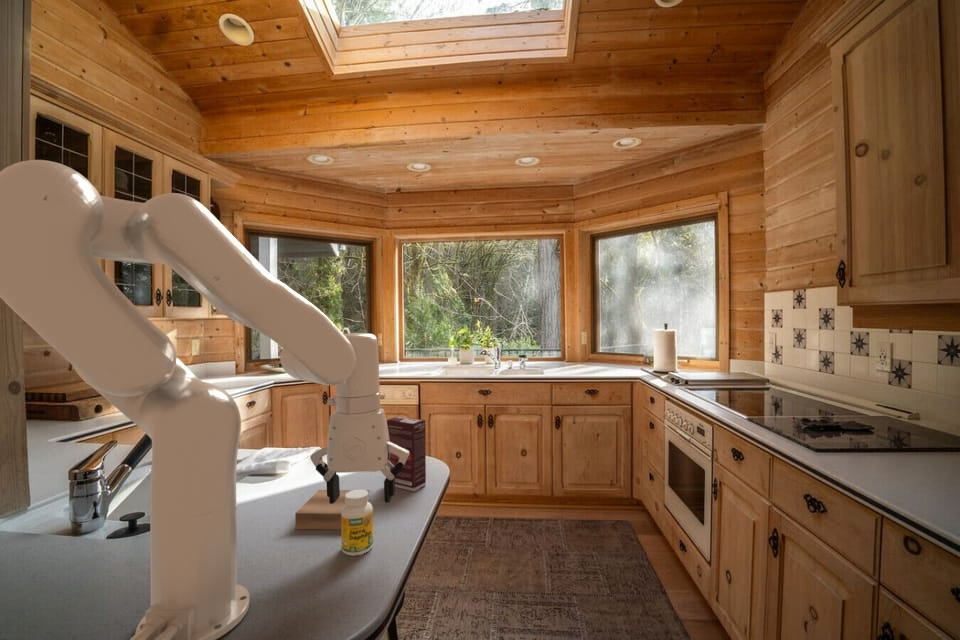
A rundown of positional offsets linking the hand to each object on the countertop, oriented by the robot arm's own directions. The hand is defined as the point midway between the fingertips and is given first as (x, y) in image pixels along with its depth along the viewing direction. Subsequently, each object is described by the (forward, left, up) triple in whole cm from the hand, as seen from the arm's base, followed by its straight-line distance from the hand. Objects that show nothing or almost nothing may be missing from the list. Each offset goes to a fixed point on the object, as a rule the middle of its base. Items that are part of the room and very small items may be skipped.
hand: (361, 499), depth 75 cm
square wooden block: (+11, +9, -8) cm, 17 cm away
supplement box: (+27, -2, -8) cm, 29 cm away
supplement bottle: (-1, +1, -8) cm, 8 cm away
